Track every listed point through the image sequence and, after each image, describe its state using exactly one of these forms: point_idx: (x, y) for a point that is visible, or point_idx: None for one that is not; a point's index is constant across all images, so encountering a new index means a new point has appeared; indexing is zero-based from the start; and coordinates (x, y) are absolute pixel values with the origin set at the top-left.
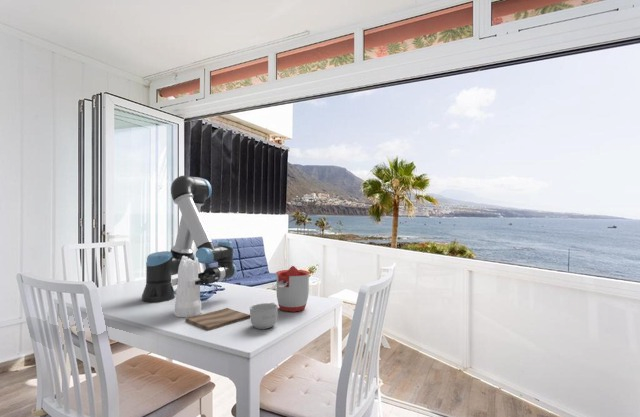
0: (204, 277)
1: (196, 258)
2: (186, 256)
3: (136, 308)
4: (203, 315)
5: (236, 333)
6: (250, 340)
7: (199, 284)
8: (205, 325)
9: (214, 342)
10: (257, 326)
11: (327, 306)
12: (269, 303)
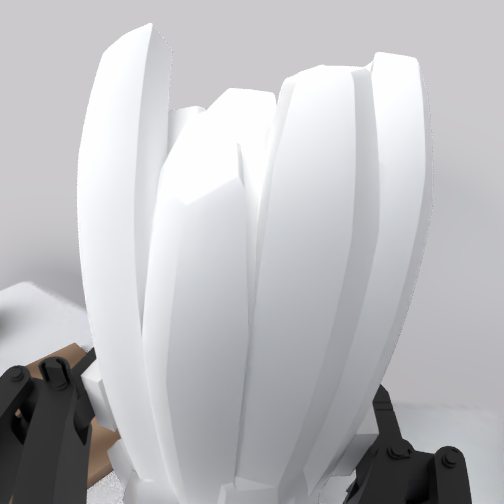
0: (31, 446)
1: (134, 58)
2: (409, 59)
3: (501, 475)
4: (101, 444)
5: (18, 328)
6: (8, 303)
7: (100, 417)
8: (82, 352)
9: (67, 304)
10: None
11: None
12: None
